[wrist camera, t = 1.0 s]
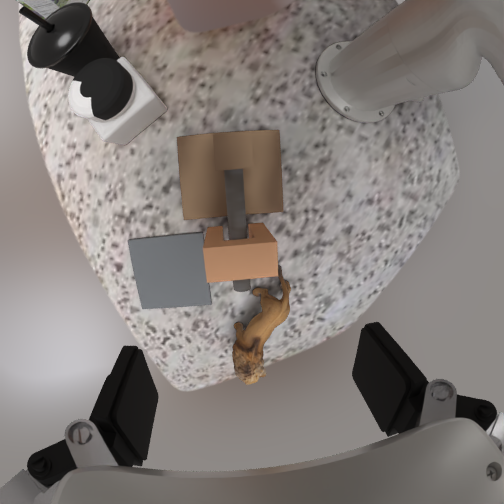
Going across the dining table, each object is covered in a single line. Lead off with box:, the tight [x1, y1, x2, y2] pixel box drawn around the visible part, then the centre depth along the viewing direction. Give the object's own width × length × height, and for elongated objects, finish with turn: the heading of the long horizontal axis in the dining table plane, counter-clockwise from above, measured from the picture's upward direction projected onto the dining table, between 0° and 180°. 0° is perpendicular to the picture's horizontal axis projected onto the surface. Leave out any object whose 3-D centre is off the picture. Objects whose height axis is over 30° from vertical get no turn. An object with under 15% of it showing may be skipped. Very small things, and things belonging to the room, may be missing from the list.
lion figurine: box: [232, 266, 291, 385], centre depth 34 cm, size 15×5×9 cm, turn 159°
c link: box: [203, 223, 278, 283], centre depth 26 cm, size 6×3×8 cm, turn 93°
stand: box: [177, 130, 283, 292], centre depth 27 cm, size 12×16×12 cm
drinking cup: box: [19, 2, 119, 77], centre depth 16 cm, size 8×8×20 cm
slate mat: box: [128, 232, 212, 309], centre depth 35 cm, size 10×10×1 cm
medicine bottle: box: [68, 57, 167, 145], centre depth 22 cm, size 7×7×12 cm
